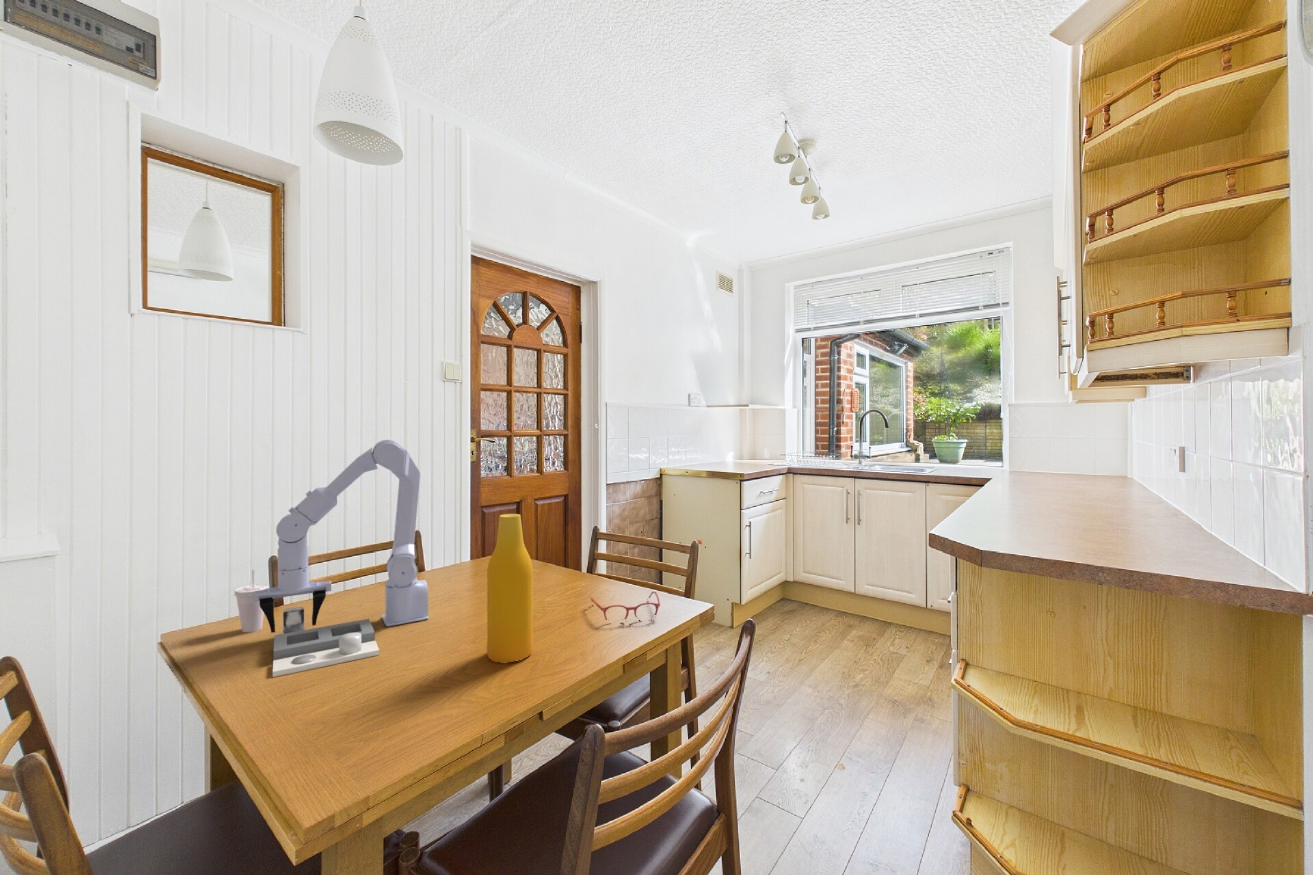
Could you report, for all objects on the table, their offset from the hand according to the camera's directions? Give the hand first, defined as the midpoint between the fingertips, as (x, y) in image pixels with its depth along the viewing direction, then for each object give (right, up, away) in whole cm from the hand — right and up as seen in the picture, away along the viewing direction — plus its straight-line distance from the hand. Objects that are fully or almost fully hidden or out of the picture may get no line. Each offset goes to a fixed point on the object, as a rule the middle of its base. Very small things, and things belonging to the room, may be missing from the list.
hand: (293, 627), depth 122 cm
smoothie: (-12, -2, +4) cm, 13 cm away
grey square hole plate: (+10, -2, -5) cm, 12 cm away
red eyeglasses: (+74, -3, +16) cm, 76 cm away
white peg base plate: (+15, -2, -13) cm, 20 cm away
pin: (0, -2, 0) cm, 2 cm away
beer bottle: (+51, -2, -10) cm, 52 cm away
